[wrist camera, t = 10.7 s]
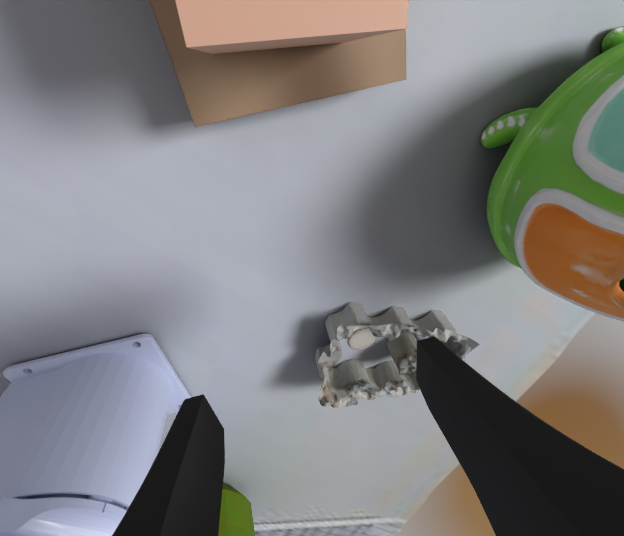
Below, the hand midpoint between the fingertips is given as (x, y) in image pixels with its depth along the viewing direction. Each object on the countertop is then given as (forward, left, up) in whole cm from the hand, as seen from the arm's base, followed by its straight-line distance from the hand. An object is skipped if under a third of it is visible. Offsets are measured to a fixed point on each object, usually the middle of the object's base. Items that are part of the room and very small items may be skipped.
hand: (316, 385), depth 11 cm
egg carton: (+6, -10, -11) cm, 16 cm away
